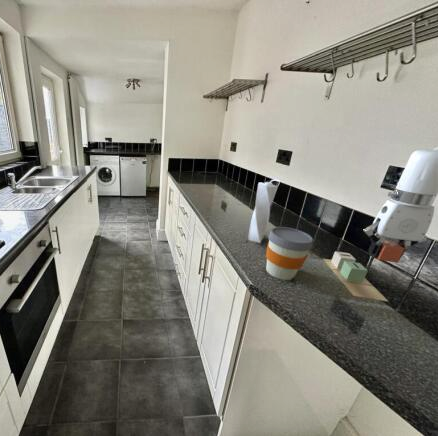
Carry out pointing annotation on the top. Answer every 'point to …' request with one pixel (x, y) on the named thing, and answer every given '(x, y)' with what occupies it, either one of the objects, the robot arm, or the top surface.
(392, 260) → the orange red cube
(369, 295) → the word mat
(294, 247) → the reusable coffee cup
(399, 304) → the top surface
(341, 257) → the white cube
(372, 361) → the top surface
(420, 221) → the robot arm
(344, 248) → the top surface
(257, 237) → the twisted white column
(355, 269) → the green cube
